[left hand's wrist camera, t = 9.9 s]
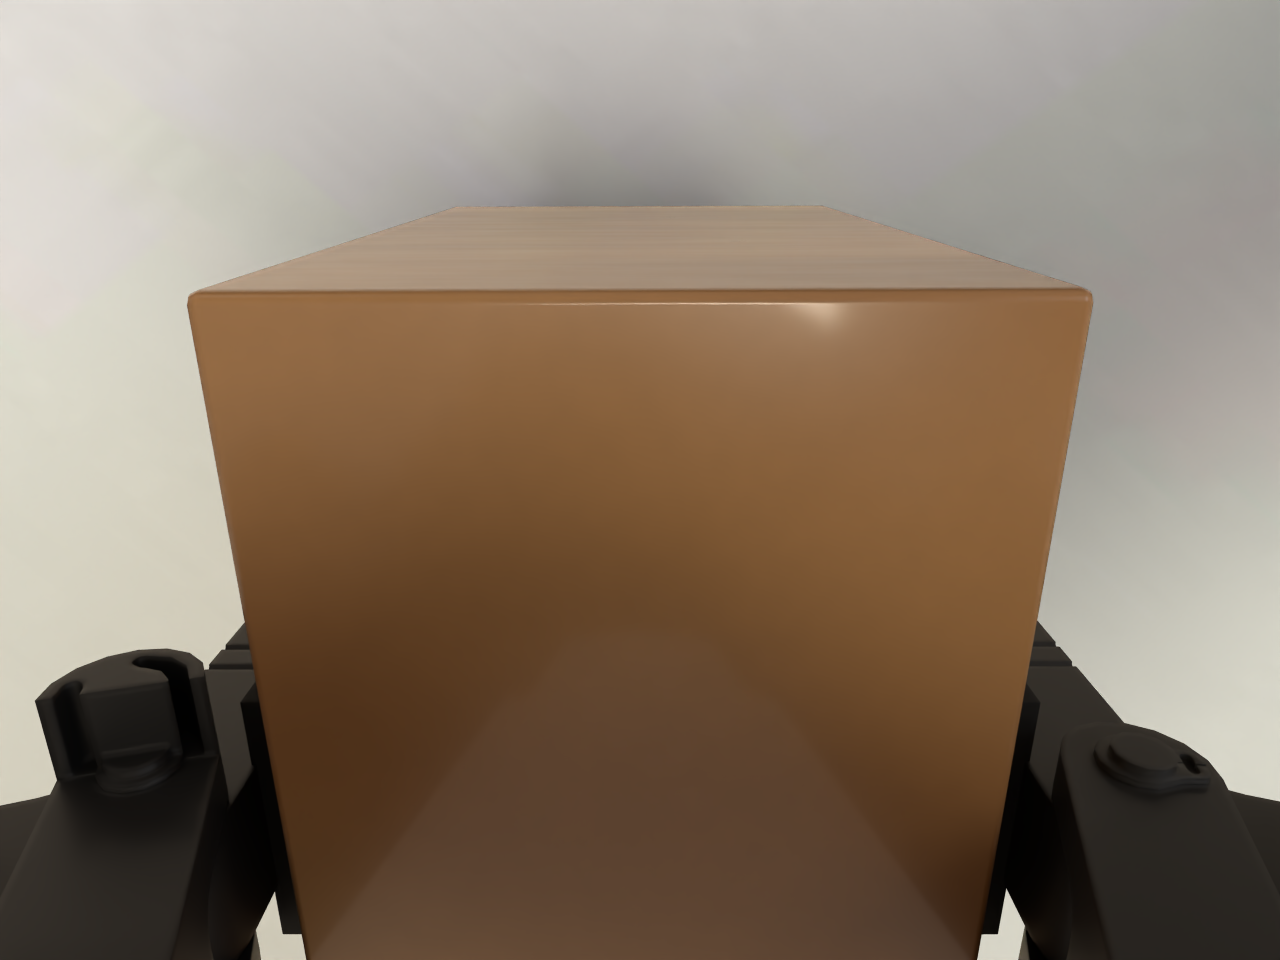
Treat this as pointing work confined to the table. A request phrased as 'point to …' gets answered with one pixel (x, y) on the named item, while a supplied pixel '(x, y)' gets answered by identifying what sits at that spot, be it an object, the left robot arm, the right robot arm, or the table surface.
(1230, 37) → the table surface
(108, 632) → the table surface
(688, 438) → the beam
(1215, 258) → the table surface
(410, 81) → the table surface
